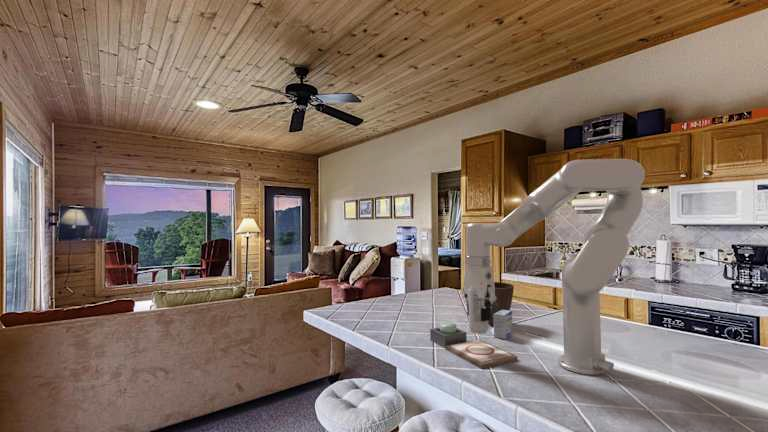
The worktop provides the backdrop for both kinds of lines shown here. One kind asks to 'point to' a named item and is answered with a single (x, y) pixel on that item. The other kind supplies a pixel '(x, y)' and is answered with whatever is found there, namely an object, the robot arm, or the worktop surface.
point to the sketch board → (481, 353)
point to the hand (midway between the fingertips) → (478, 317)
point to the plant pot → (501, 299)
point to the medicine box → (502, 324)
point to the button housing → (447, 337)
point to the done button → (447, 328)
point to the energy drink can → (476, 313)
